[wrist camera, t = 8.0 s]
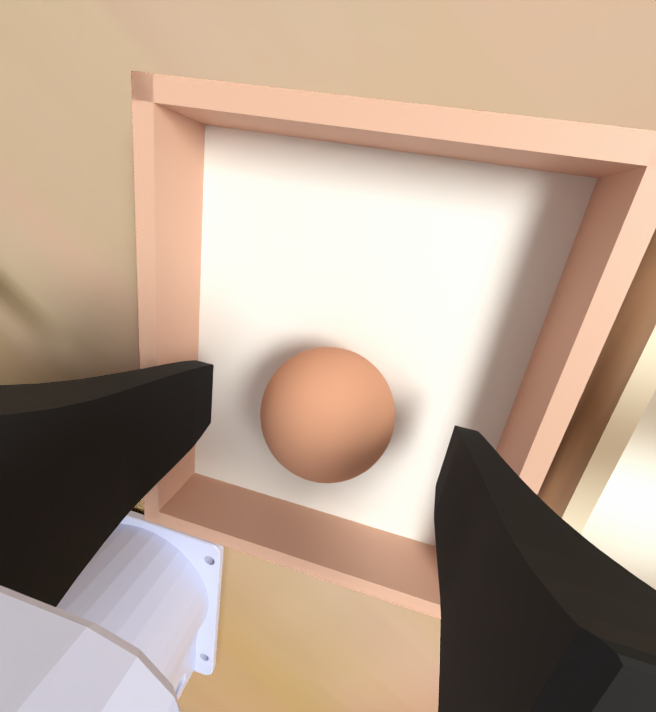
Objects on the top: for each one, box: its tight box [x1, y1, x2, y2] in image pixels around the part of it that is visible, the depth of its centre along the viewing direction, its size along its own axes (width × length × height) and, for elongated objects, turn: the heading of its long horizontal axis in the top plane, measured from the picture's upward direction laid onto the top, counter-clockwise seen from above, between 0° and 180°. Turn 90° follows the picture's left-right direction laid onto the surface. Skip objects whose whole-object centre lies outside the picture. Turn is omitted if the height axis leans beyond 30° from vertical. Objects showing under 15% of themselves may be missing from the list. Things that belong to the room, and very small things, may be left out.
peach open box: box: [131, 71, 656, 619], centre depth 12 cm, size 14×12×3 cm
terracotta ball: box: [260, 347, 395, 483], centre depth 12 cm, size 4×4×4 cm
